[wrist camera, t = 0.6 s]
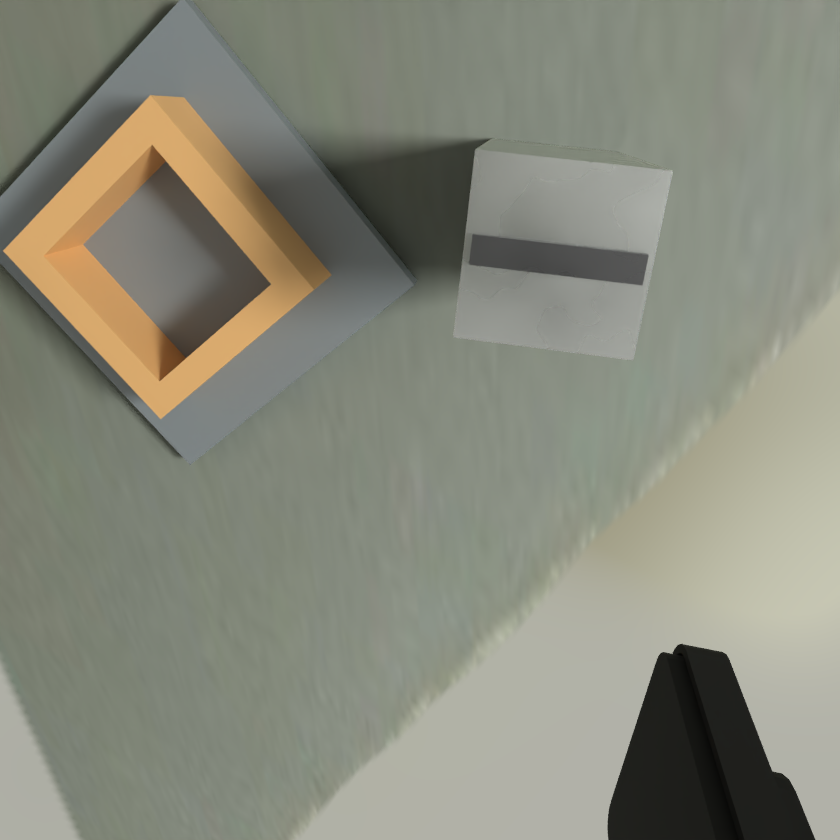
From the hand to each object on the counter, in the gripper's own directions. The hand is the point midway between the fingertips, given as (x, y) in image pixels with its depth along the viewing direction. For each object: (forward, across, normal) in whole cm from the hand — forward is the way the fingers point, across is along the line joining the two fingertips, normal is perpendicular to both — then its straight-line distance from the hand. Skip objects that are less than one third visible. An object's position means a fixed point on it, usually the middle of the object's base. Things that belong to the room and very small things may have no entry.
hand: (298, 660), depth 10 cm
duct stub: (+25, -3, -4) cm, 25 cm away
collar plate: (+25, +12, 0) cm, 27 cm away
